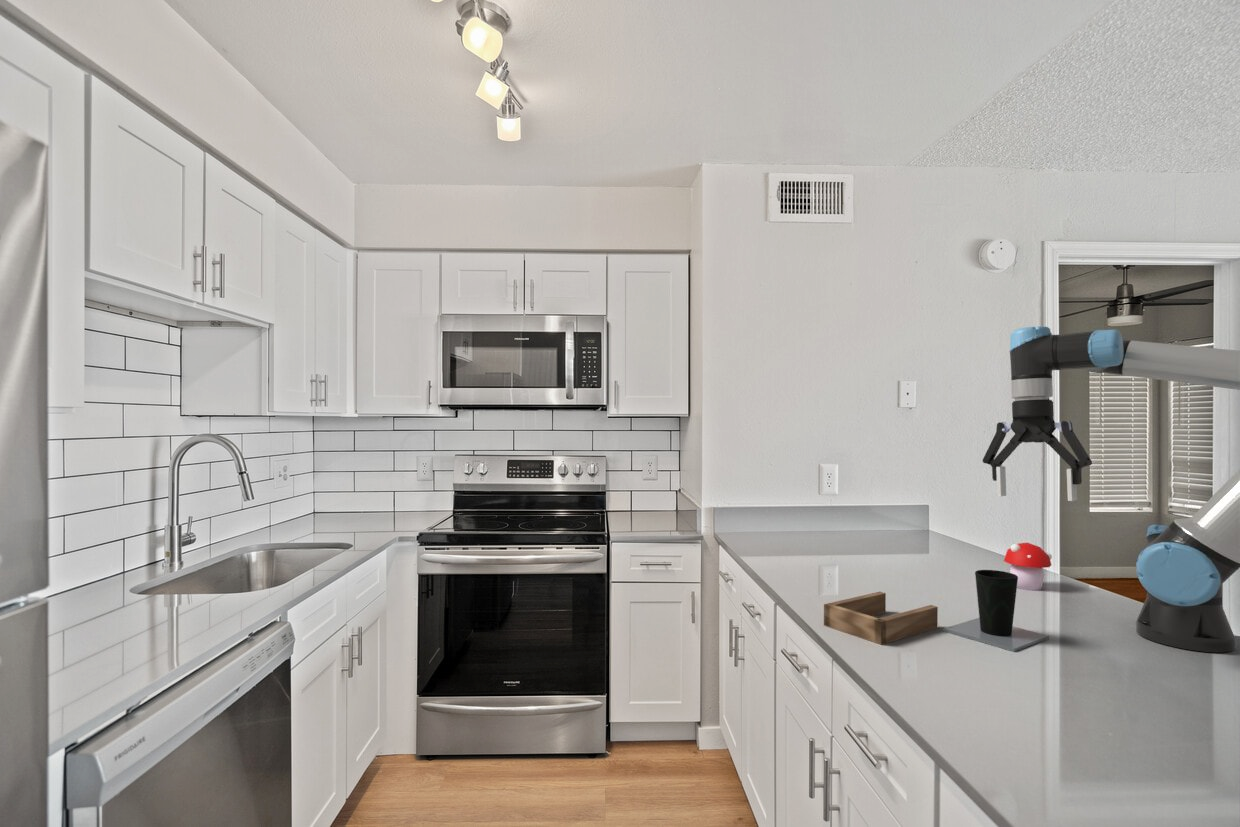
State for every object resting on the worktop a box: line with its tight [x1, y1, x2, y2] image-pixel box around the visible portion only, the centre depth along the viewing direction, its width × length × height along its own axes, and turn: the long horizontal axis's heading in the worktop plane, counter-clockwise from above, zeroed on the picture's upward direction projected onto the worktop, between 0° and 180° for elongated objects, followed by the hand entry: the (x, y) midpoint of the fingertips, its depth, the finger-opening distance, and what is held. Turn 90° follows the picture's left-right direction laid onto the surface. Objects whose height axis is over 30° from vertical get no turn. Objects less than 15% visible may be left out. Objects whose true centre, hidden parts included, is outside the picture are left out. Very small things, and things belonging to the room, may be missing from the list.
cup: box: [974, 569, 1018, 637], centre depth 133 cm, size 8×8×12 cm
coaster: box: [943, 617, 1050, 653], centre depth 133 cm, size 14×14×1 cm
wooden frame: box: [823, 591, 939, 645], centre depth 138 cm, size 14×20×4 cm
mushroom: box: [1003, 542, 1053, 591], centre depth 171 cm, size 11×11×12 cm
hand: (1035, 498), depth 138 cm, fingers open, 13 cm apart
